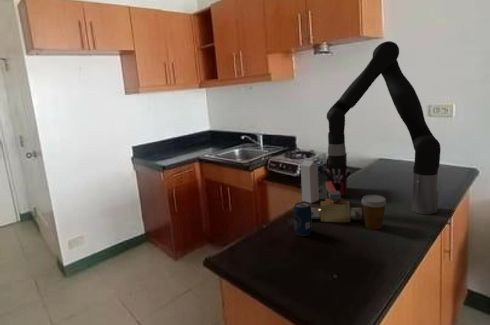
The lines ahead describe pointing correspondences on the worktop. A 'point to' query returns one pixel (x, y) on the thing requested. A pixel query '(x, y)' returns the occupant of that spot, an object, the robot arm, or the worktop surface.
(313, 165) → the milk
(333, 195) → the lever
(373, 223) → the disposable coffee cup
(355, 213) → the pipe valve
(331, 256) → the worktop surface
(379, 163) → the worktop surface
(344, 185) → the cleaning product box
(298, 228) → the soda can
